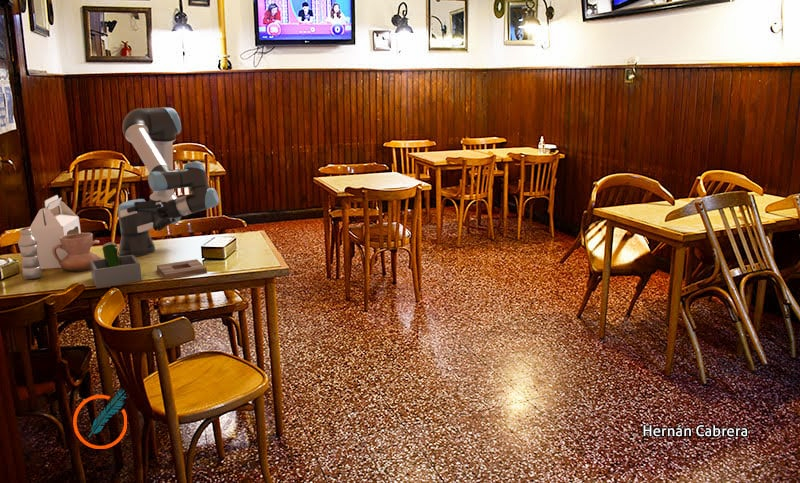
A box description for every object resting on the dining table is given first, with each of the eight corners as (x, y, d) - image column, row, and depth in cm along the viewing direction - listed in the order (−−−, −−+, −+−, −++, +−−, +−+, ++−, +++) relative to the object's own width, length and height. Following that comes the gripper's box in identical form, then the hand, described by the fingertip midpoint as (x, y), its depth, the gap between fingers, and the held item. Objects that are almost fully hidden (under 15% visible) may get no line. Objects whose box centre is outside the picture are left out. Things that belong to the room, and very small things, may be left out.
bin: (92, 277, 259) (89, 260, 258) (135, 271, 267) (133, 254, 265) (96, 288, 246) (94, 270, 244) (142, 281, 254) (139, 263, 252)
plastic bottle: (28, 276, 264) (20, 227, 259) (45, 275, 264) (38, 226, 259) (20, 281, 257) (12, 231, 253) (38, 280, 258) (30, 230, 253)
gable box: (68, 267, 276) (58, 201, 269) (34, 269, 274) (24, 203, 267) (84, 254, 297) (75, 192, 291) (52, 256, 295) (43, 194, 288)
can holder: (157, 269, 268) (156, 265, 268) (197, 263, 276) (196, 259, 276) (165, 279, 255) (164, 274, 254) (206, 272, 263) (206, 267, 262)
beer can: (109, 271, 253) (102, 243, 256) (107, 276, 257) (101, 248, 260) (123, 268, 256) (117, 241, 259) (122, 274, 260) (115, 246, 263)
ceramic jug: (105, 262, 282) (100, 229, 279) (100, 270, 269) (95, 236, 265) (59, 267, 278) (54, 234, 274) (52, 276, 264) (46, 241, 261)
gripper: (166, 199, 252) (113, 215, 252) (193, 229, 274) (145, 243, 274) (164, 183, 255) (112, 199, 255) (192, 214, 277) (144, 228, 278)
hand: (129, 222), depth 265 cm, fingers open, 13 cm apart
